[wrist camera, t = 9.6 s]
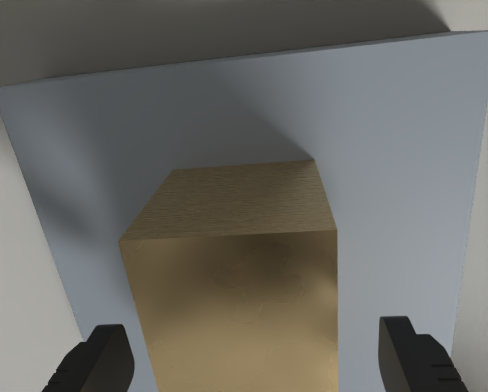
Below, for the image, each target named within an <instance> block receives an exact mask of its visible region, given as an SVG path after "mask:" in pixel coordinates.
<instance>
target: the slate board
mask: <svg viewBox="0 0 488 392" xmlns="http://www.w3.org/2000/svg"><path fill="white" fill-rule="evenodd" d="M487 101H488V30H486V31H451V32H442V33H434V34H425V35H416V36H408V37H399V38H390V39H382V40H373V41H364V42H356V43H347V44H339V45H330V46H321V47H313V48H304V49H295V50H287V51H278V52H269V53H261V54H252V55H243V56H235V57H226V58H218V59H209V60H200V61H192V62H183V63H174V64H166V65H157V66H148V67H140V68H131V69H122V70H114V71H105V72H97V73H88V74H79V75H71V76H62V77H53V78H45V79H38V80H33V81H28V82H22V83H17V84H11V85H6V86H0V114H1V116H2V119H3V122H4V125H5V127H6V130H7V133H8V136H9V138H10V141H11V144H12V146H13V149H14V152H15V155H16V157H17V160H18V163H19V166H20V168H21V171H22V174H23V177H24V179H25V182H26V185H27V187H28V190H29V193H30V196H31V198H32V201H33V204H34V207H35V209H36V212H37V215H38V218H39V220H40V223H41V226H42V228H43V231H44V234H45V237H46V239H47V242H48V245H49V248H50V250H51V253H52V256H53V259H54V261H55V264H56V267H57V269H58V272H59V275H60V278H61V280H62V283H63V286H64V289H65V291H66V294H67V297H68V300H69V302H70V305H71V308H72V310H73V313H74V316H75V319H76V321H77V324H78V327H79V330H80V332H81V335H82V338H83V341H84V342H86V341H87V339H88V338H89V336H90V334H91V333H92V331H93V330H94V328H95V327H96V326H97V325H102V324H122V325H123V326H124V328H125V330H126V334H127V337H128V340H129V344H130V347H131V350H132V353H133V357H134V361H135V370H134V376H133V379H132V382H131V384H130V386H129V389H128V391H127V392H158V388H157V384H156V381H155V377H154V373H153V369H152V366H151V362H150V358H149V355H148V351H147V347H146V344H145V340H144V336H143V333H142V329H141V325H140V322H139V318H138V314H137V310H136V307H135V303H134V299H133V296H132V292H131V288H130V285H129V281H128V277H127V274H126V270H125V266H124V263H123V259H122V255H121V251H120V248H119V244H118V240H119V239H120V238H121V236H122V235H123V234H124V232H125V231H126V230H127V229H128V227H129V226H130V225H131V223H132V222H133V221H134V219H135V218H136V217H137V215H138V214H139V213H140V212H141V210H142V209H143V208H144V206H145V205H146V204H147V202H148V201H149V200H150V198H151V197H152V196H153V195H154V193H155V192H156V191H157V189H158V188H159V187H160V185H161V184H162V183H163V181H164V180H165V179H166V178H167V176H168V175H169V174H170V172H171V171H172V170H176V169H190V168H203V167H217V166H230V165H244V164H257V163H271V162H284V161H298V160H311V159H315V162H316V165H317V168H318V171H319V174H320V177H321V180H322V183H323V187H324V190H325V193H326V196H327V199H328V202H329V205H330V208H331V211H332V214H333V217H334V221H335V224H336V227H337V238H338V392H386V391H385V388H384V384H383V381H382V378H381V374H380V369H379V362H378V341H379V319H380V317H381V316H407V317H408V318H409V319H410V321H411V324H412V326H413V328H414V330H415V332H416V334H430V335H431V336H432V337H433V338H434V339H436V340H437V341H438V342H439V343H440V344H441V345H442V346H443V347H444V348H445V349H446V351H447V353H448V355H449V357H450V359H451V352H452V345H453V338H454V331H455V324H456V317H457V310H458V303H459V296H460V289H461V282H462V275H463V268H464V261H465V254H466V247H467V240H468V234H469V227H470V220H471V213H472V206H473V199H474V192H475V185H476V178H477V171H478V164H479V157H480V150H481V143H482V136H483V129H484V122H485V115H486V108H487Z"/></svg>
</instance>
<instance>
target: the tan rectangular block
mask: <svg viewBox="0 0 488 392" xmlns="http://www.w3.org/2000/svg"><path fill="white" fill-rule="evenodd" d="M118 244H119V248H120V251H121V255H122V259H123V263H124V266H125V270H126V274H127V277H128V281H129V285H130V288H131V292H132V296H133V299H134V303H135V307H136V310H137V314H138V318H139V322H140V325H141V329H142V333H143V336H144V340H145V344H146V347H147V351H148V355H149V358H150V362H151V366H152V369H153V373H154V377H155V381H156V384H157V388H158V392H338V238H337V227H336V224H335V221H334V217H333V214H332V211H331V208H330V205H329V202H328V199H327V196H326V193H325V190H324V187H323V183H322V180H321V177H320V174H319V171H318V168H317V165H316V162H315V159H311V160H298V161H284V162H271V163H257V164H244V165H230V166H217V167H203V168H190V169H176V170H172V171H171V172H170V174H169V175H168V176H167V178H166V179H165V180H164V181H163V183H162V184H161V185H160V187H159V188H158V189H157V191H156V192H155V193H154V195H153V196H152V197H151V198H150V200H149V201H148V202H147V204H146V205H145V206H144V208H143V209H142V210H141V212H140V213H139V214H138V215H137V217H136V218H135V219H134V221H133V222H132V223H131V225H130V226H129V227H128V229H127V230H126V231H125V232H124V234H123V235H122V236H121V238H120V239H119V240H118Z"/></svg>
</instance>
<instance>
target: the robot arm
mask: <svg viewBox="0 0 488 392" xmlns="http://www.w3.org/2000/svg"><path fill="white" fill-rule="evenodd" d="M378 362H379V369H380V374H381V378H382V381H383V384H384V388H385V391H386V392H468V390H467V388H466V386H465V385H464V383H463V382H462V381H461V377H460V375H459V373H458V372H457V370H456V368H454V364H453V362H452V360H451V359H450V357H449V355H448V353H447V351H446V349H445V348H444V347H443V346H442V345H441V344H440V343H439V342H438V341H437V340H436V339H434V338H433V337H432V336H431V335H430V334H416V332H415V330H414V328H413V326H412V324H411V321H410V319H409V318H408V317H407V316H381V317H380V319H379V341H378ZM134 370H135V361H134V357H133V353H132V350H131V347H130V344H129V340H128V337H127V334H126V330H125V328H124V326H123V325H122V324H102V325H97V326H96V327H95V328H94V330H93V331H92V333H91V334H90V336H89V338H88V339H87V341H86V342H80V343H79V344H78V345H77V346H76V347H74V348H73V349H72V350H71V351H70V352H69V353H68V354H67V355H66V356H65V357H64V359H63V360H62V362H61V363H60V365H59V366H58V368H57V369H56V373H54V374H53V375H52V377H51V379H50V380H49V382H48V385H46V386H45V388H44V389H43V391H42V392H127V391H128V389H129V386H130V384H131V382H132V379H133V376H134Z"/></svg>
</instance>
